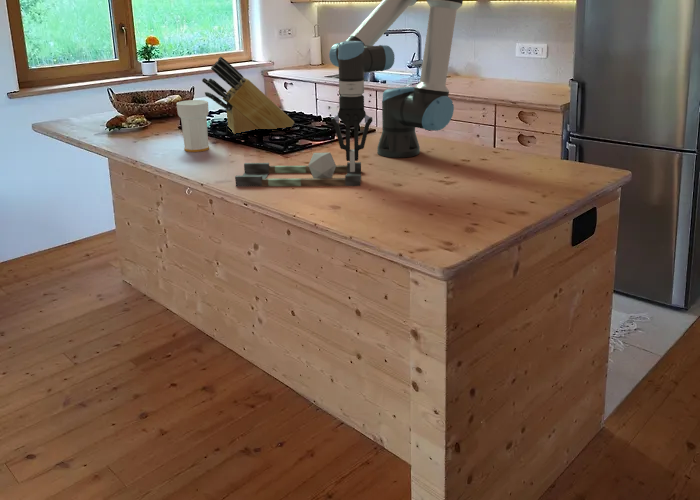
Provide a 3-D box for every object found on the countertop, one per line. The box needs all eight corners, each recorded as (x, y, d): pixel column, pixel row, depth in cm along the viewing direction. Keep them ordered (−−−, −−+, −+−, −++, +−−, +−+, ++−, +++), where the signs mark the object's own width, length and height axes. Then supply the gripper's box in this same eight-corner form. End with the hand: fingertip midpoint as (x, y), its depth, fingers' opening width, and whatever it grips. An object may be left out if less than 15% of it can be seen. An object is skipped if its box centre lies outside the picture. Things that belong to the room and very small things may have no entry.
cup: (218, 147, 261) (214, 101, 255) (197, 154, 252) (192, 106, 246) (196, 144, 267) (192, 98, 260) (174, 150, 258) (169, 103, 251)
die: (326, 186, 213) (342, 158, 213) (301, 171, 213) (317, 143, 213) (326, 188, 222) (342, 161, 222) (302, 174, 222) (318, 147, 222)
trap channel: (361, 171, 227) (361, 162, 225) (360, 185, 211) (360, 176, 210) (245, 171, 228) (244, 162, 227) (235, 186, 212) (235, 176, 211)
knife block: (205, 132, 287) (198, 55, 276) (286, 125, 300) (283, 51, 289) (211, 138, 278) (204, 58, 266) (295, 130, 290) (291, 53, 279)
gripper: (329, 96, 206) (331, 174, 214) (373, 96, 205) (373, 173, 214) (330, 92, 213) (332, 167, 221) (373, 92, 212) (373, 167, 221)
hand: (352, 170), depth 218 cm, fingers closed
